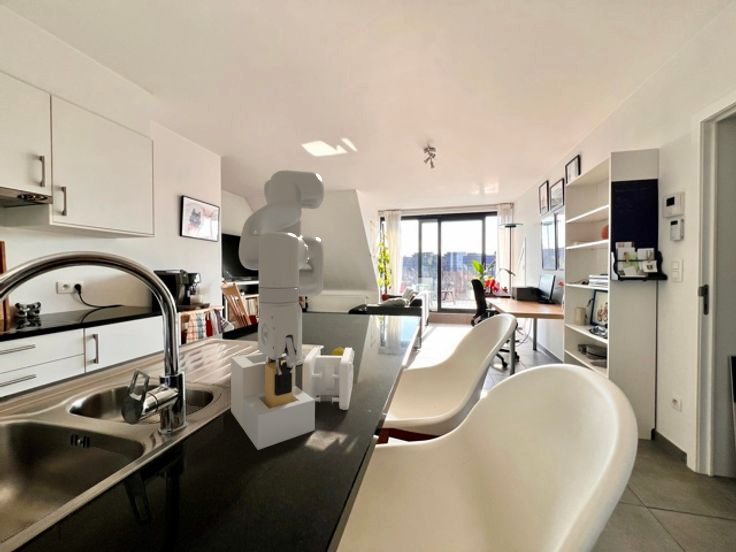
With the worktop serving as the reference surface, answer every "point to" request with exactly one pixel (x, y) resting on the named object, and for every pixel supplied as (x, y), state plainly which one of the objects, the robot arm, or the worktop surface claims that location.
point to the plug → (270, 396)
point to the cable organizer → (328, 376)
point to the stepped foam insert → (253, 412)
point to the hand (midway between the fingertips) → (278, 389)
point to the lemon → (338, 352)
